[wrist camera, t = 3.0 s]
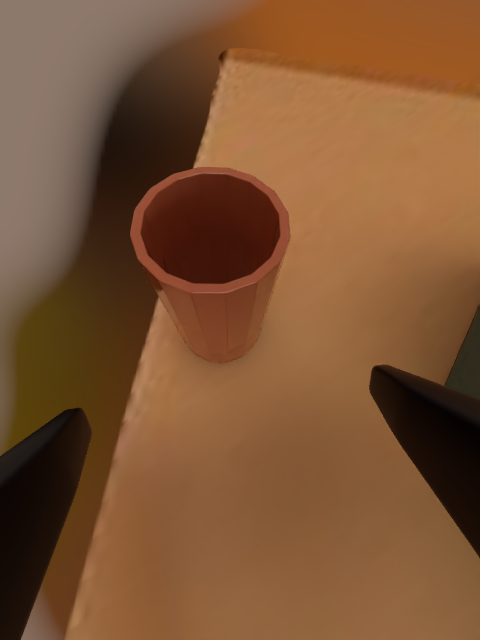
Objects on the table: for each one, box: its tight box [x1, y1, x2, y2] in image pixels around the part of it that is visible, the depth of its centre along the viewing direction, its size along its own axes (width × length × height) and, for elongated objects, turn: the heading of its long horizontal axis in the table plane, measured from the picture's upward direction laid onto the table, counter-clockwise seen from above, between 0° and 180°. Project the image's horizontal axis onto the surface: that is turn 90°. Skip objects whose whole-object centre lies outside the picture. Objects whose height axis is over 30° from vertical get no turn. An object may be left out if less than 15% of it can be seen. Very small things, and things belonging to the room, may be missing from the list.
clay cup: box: [130, 167, 290, 362], centre depth 17 cm, size 7×7×12 cm
